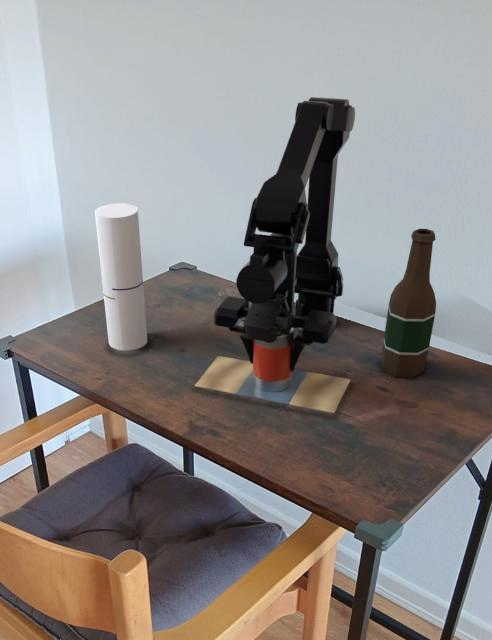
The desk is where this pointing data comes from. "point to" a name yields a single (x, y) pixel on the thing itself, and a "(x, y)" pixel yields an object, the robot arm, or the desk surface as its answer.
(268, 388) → the tin can
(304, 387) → the board
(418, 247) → the beer bottle
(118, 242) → the cylindrical container
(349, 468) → the desk surface
